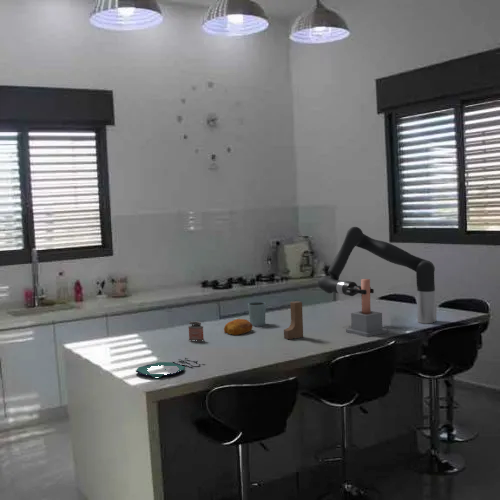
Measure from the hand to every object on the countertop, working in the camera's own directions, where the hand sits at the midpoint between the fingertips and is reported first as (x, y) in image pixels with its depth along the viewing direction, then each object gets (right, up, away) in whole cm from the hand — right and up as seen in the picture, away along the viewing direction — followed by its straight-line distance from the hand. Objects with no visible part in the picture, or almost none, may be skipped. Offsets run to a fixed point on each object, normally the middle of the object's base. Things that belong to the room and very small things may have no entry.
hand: (369, 291), depth 323 cm
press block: (-1, -21, +4) cm, 21 cm away
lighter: (-88, -25, +1) cm, 91 cm away
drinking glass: (-56, -21, +35) cm, 69 cm away
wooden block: (-39, -23, -1) cm, 45 cm away
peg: (-1, -14, +4) cm, 14 cm away
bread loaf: (-67, -23, +18) cm, 73 cm away
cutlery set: (-95, -31, -51) cm, 112 cm away
